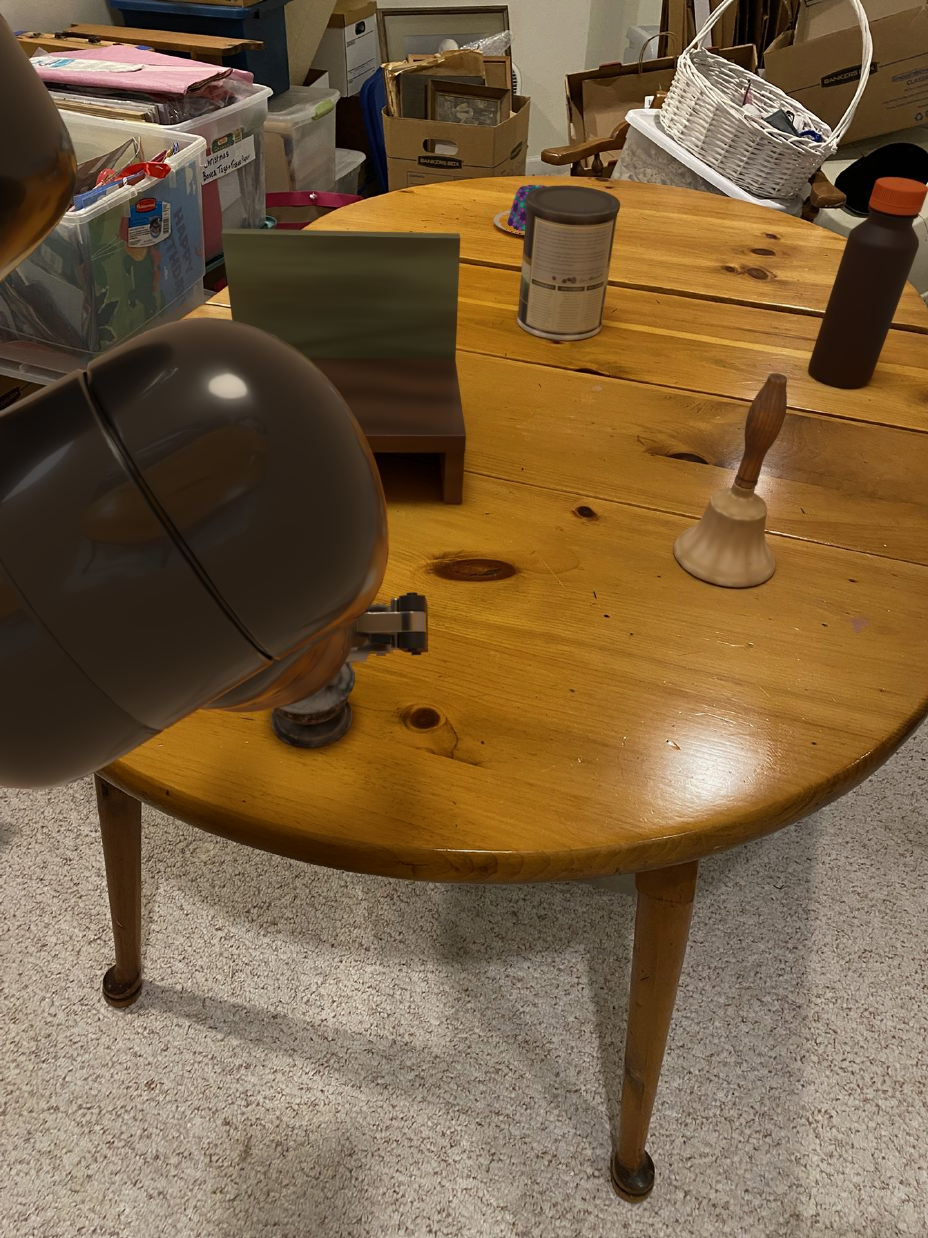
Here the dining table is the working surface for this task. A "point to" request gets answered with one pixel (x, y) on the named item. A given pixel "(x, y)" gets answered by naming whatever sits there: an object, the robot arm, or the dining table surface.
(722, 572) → the hand bell
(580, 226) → the coffee can
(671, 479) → the dining table surface
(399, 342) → the shelf
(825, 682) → the dining table surface
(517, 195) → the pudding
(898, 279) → the bottle
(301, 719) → the grey turned spindle
